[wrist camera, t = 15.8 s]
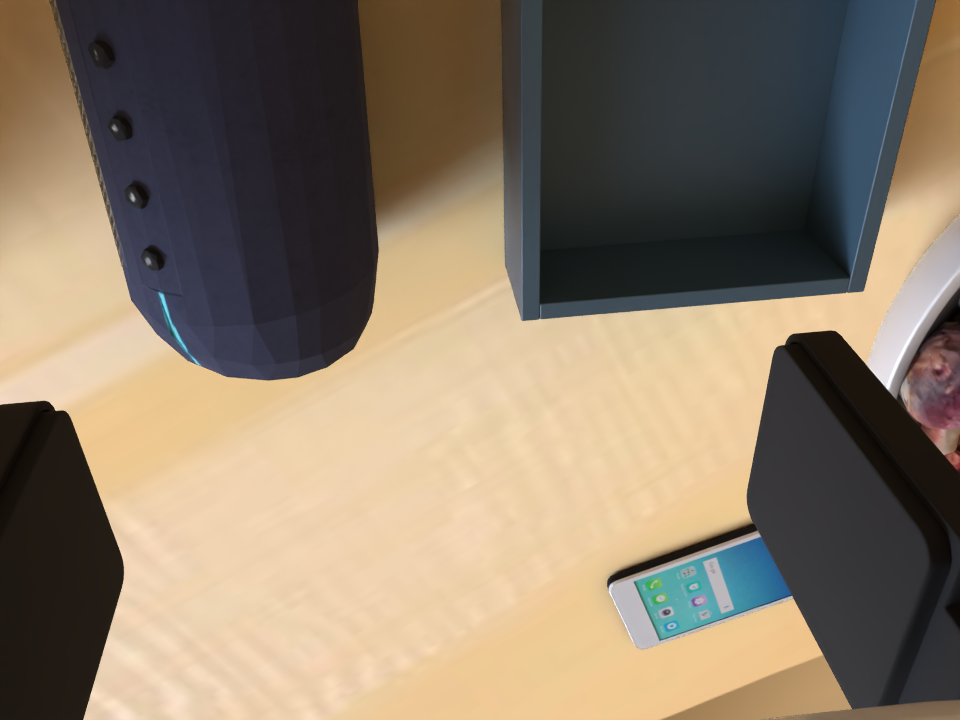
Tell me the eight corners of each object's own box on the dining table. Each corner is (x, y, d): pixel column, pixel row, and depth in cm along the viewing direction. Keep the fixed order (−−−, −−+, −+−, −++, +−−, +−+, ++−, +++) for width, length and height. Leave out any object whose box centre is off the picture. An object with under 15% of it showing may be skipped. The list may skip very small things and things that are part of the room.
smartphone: (606, 586, 55) (837, 504, 53) (603, 576, 55) (831, 494, 54) (637, 652, 59) (853, 578, 57) (634, 642, 60) (847, 569, 58)
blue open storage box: (505, 265, 42) (521, 321, 38) (499, -66, 34) (520, -43, 30) (813, 240, 44) (864, 292, 39) (879, -85, 35) (953, -65, 31)
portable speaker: (4, -405, 27) (-151, -484, 19) (325, -404, 28) (311, -479, 20) (172, 294, 41) (125, 424, 33) (383, 281, 42) (389, 403, 34)
